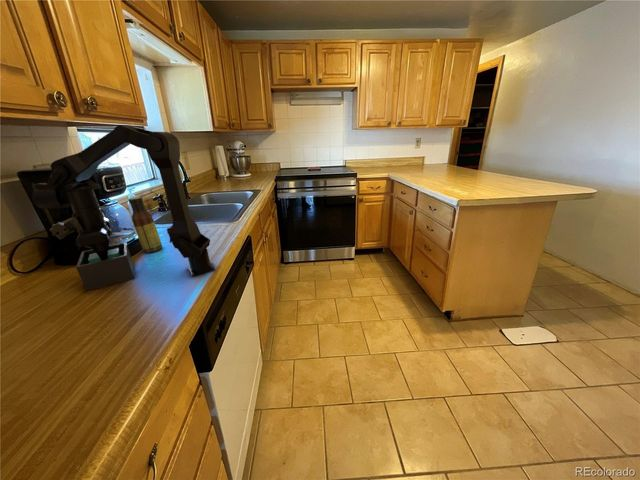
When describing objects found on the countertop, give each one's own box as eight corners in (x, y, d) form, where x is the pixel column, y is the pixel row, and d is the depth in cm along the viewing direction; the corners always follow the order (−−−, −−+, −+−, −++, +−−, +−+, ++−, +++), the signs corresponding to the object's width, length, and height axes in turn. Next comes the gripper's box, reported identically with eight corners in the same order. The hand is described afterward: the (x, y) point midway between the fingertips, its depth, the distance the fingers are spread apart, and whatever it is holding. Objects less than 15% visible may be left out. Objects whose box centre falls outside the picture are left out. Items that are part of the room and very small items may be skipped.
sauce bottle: (164, 245, 102) (149, 194, 95) (160, 251, 97) (145, 198, 89) (145, 248, 100) (128, 196, 93) (140, 254, 95) (122, 200, 87)
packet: (120, 255, 83) (118, 248, 82) (120, 260, 79) (118, 253, 78) (92, 261, 79) (89, 254, 78) (91, 267, 75) (87, 260, 74)
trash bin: (134, 278, 79) (126, 255, 76) (86, 291, 73) (75, 267, 70) (133, 262, 89) (126, 242, 86) (90, 273, 83) (81, 251, 80)
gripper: (53, 205, 76) (74, 254, 81) (37, 220, 61) (64, 278, 67) (101, 199, 81) (118, 245, 87) (97, 211, 67) (117, 265, 73)
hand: (105, 257), depth 78 cm, fingers closed on packet, 5 cm apart
